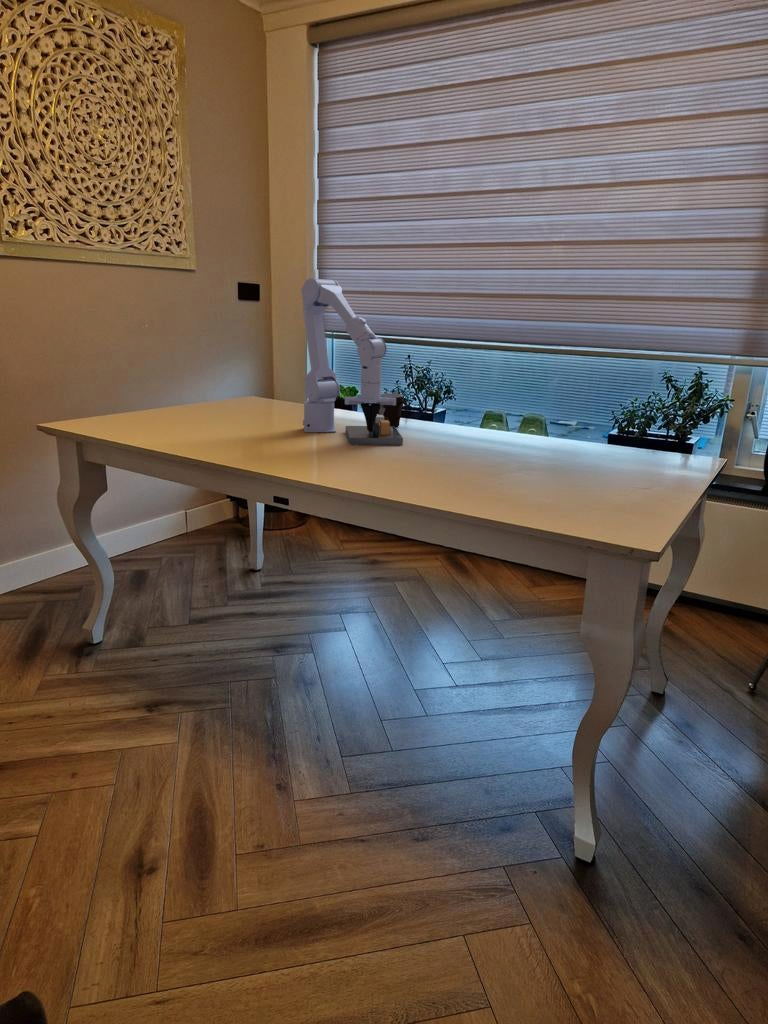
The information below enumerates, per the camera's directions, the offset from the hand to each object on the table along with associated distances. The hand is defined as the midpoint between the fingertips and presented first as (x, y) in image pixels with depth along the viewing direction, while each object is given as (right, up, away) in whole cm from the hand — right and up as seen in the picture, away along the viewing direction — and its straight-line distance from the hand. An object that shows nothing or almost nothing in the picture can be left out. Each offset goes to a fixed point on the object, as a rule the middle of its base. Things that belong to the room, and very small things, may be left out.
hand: (369, 429), depth 191 cm
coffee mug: (+6, +3, +21) cm, 23 cm away
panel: (+1, -2, +3) cm, 4 cm away
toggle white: (+3, +2, +9) cm, 10 cm away
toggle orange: (+4, -1, +1) cm, 4 cm away
